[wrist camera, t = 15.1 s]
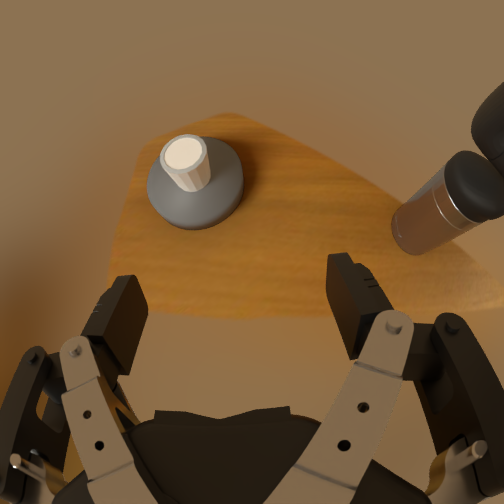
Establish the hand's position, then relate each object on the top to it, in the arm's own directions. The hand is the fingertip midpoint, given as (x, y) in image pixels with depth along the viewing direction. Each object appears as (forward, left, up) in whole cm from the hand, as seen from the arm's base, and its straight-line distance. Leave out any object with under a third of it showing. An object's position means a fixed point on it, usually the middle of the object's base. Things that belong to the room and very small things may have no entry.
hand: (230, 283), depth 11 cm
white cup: (+10, -20, -27) cm, 35 cm away
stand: (+10, -21, -31) cm, 38 cm away
